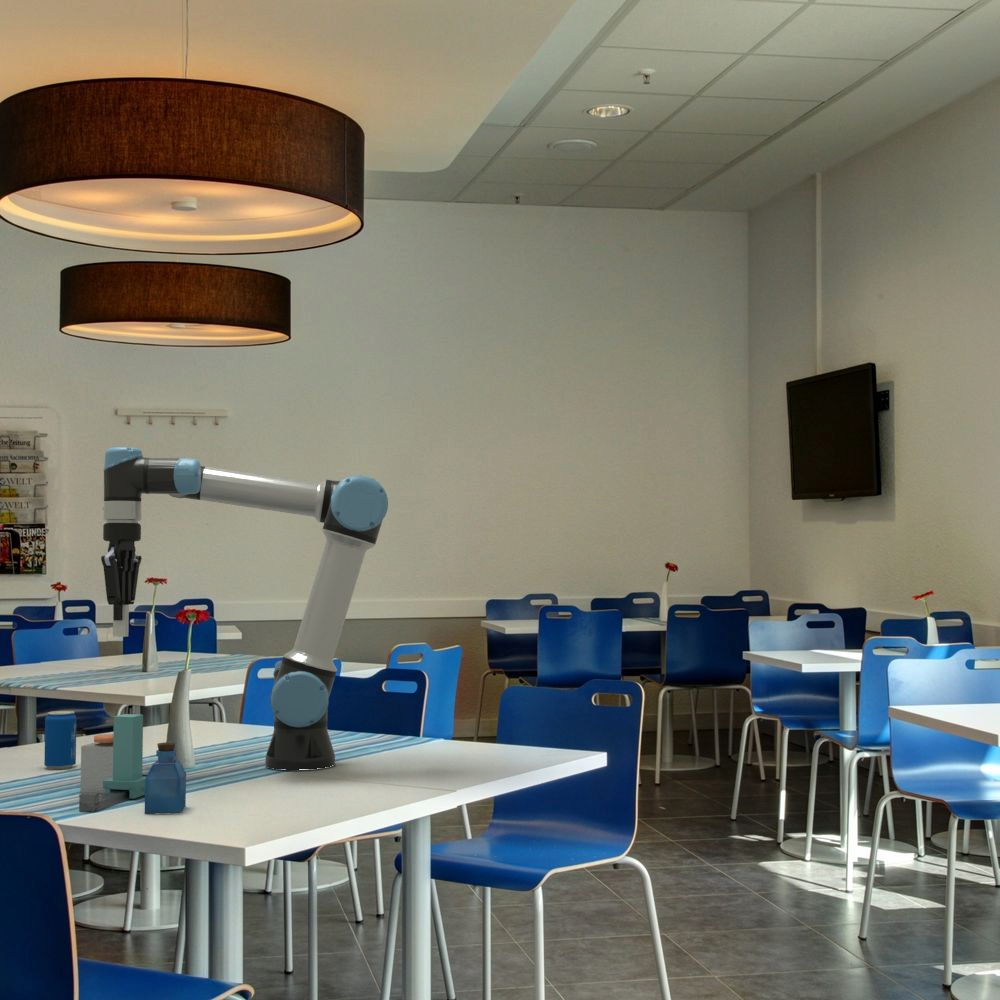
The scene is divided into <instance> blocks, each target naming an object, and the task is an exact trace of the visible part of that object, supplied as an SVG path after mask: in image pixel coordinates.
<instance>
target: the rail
mask: <svg viewBox="0 0 1000 1000" xmlns="http://www.w3.org/2000/svg"><path fill="white" fill-rule="evenodd" d="M147 774H148V772H147V773H146V772H142V777H146V776H147ZM129 791H130V790H121V789H118V790H115V791H112V792H109V793H106V794H98V793H79V799H78V801H79V802H78V808H79V809H78V811H79V810H80V811H79V812H84V811H91V812H90V813H96V812H99V811H101V810H103V809H106V808H110V807H111V806H115V805H117V804H119V803H122V802H125V801H127V800H130V799H131V798H129Z"/></svg>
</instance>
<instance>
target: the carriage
mask: <svg viewBox="0 0 1000 1000" xmlns="http://www.w3.org/2000/svg"><path fill="white" fill-rule="evenodd" d="M143 732H144V714H131V713H124V714H119V715H114V716H113V778H110V779H107V780H104V781H103V789H105V794H106V793H109V792H112V791H115V790H118V789H121V790H130V791H129V798H131V799H133V800H134V799H137V798H140V797H143V796H145V778H146V777H142V773H143V755H144V754H143V753H144V752H143V750H144V749H143V747H144V745H143V743H144V741H143V739H144V736H143V735H144V733H143Z"/></svg>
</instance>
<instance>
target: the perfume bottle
mask: <svg viewBox="0 0 1000 1000" xmlns="http://www.w3.org/2000/svg"><path fill="white" fill-rule="evenodd" d="M175 747H176V742H159V743H157V750H156V757H157V760H156V761H154V762H153V763H152V764H151V766H150V769H149V770H148V772H147V773H148V774H147V776H146V778H145V795H144V815H156V814H155V813H180V812H181V811H182V812H183V811H184V809H185V808H186V806H187V805H186V804H187V803H186V802H187V801H186V799H187V797H186V796H187V792H186V791H187V790H186V789H187V773H186V770H185V769H184V766H183V765H182V763H181V761H180V760H178V759H175V757H176V754H177V750H176V749H175ZM182 812H181V813H182ZM181 813H180V814H181Z"/></svg>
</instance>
